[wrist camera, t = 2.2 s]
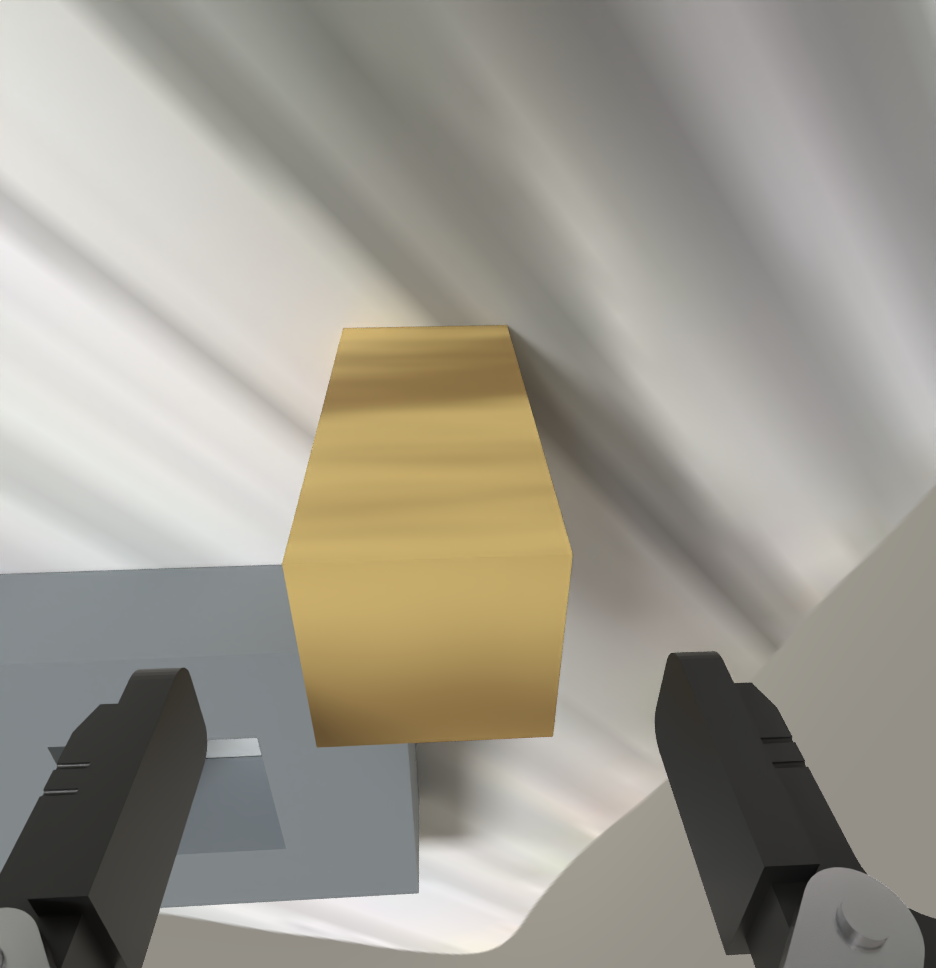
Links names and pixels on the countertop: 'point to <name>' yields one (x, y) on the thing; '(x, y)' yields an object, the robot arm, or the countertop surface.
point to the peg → (428, 546)
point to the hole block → (227, 715)
